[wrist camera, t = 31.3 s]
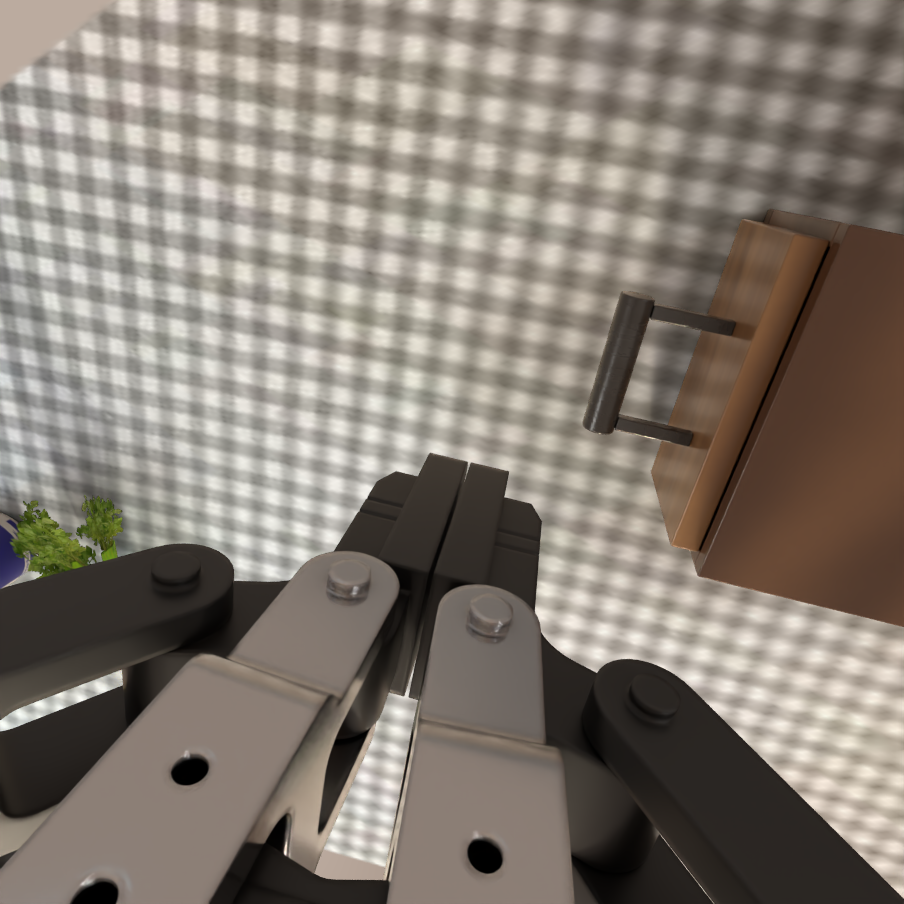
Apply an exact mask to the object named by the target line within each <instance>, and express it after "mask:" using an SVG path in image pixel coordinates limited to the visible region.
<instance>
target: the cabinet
mask: <svg viewBox="0 0 904 904" xmlns="http://www.w3.org/2000/svg"><path fill="white" fill-rule="evenodd" d="M763 223H767V224H771V225H774V226H778V227H782V228H785V229H789V230H793V231H797V232H800V233H804V234H808V235H811V236H815V237H819V238H822V239H826V240H828V241H829V244H828V247H827V249H826V251H825V253H826V254H827V256H826V259H825V261H824V263H823V266H822V268H821V270H820V273H819V275H818V277H817V280H816V282H815V284H814V287H813V289H812V291H811V294H810V296H809V299H808V301H807V303H806V306H805V308H804V310H803V313H802V315H801V317H800V320H799V322H798V324H797V327H796V329H795V331H794V334H793V336H792V338H791V341H790V343H789V345H788V348H787V350H786V352H785V355H784V357H783V359H782V362H781V364H780V366H779V369H778V371H777V374H776V376H775V378H774V381H773V383H772V385H771V388H770V390H769V392H768V395H767V397H766V399H765V402H764V404H763V406H762V409H761V411H760V413H759V416H758V418H757V420H756V423H755V425H754V427H753V430H752V432H751V434H750V437H749V439H748V442H747V444H746V446H745V449H744V451H743V453H742V456H741V458H740V460H739V463H738V465H737V467H736V470H735V472H734V474H733V477H732V479H731V481H730V484H729V486H728V488H727V491H726V493H725V495H724V498H723V500H722V502H721V505H720V507H718V506H717V508H716V511H715V513H714V515H713V518H712V520H711V522H710V525H709V527H708V529H707V532H706V534H705V536H704V539H703V541H702V544H701V546H700V548H699V551H698V552H695V551H691V550H690V552H691V555H692V558H693V561H694V564H695V569H696V572H697V575H698V576H699V577H703V578H707V579H711V580H715V581H719V582H723V583H727V584H731V585H735V586H740V587H744V588H748V589H752V590H756V591H760V592H764V593H768V594H772V595H776V596H780V597H784V598H788V599H792V600H796V601H800V602H804V603H809V604H813V605H817V606H821V607H825V608H829V609H833V610H837V611H841V612H845V613H849V614H853V615H857V616H861V617H865V618H869V619H874V620H878V621H882V622H886V623H890V624H894V625H898V626H902V627H904V235H902V234H897V233H892V232H887V231H882V230H877V229H872V228H867V227H862V226H857V225H852V224H847V223H841V222H836V221H831V220H826V219H821V218H815V217H810V216H805V215H800V214H795V213H789V212H784V211H779V210H774V209H769V210H768V212H767V214H766V217H765V220H764V222H763Z"/></svg>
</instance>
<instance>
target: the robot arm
mask: <svg viewBox="0 0 904 904" xmlns="http://www.w3.org/2000/svg"><path fill="white" fill-rule="evenodd" d="M467 466H468V462H466V461H462V460H458V459H454V458H450V457H445V456H441V455H437V454H433V453H430V454H429V455H428V457H427V459H426V461H425V463H424V465H423V467H422V469H421V471H420V473H419V475H418V477H417V476H413V475H409V474H405V473H401V472H397V471H396V472H394V473H392V474H390V475H388V476H386V477H384V478H383V479H381V480H379V481H377V482H376V484H375V486H374V487H373V489H372V490H371V492H370V494H369V495H368V498H367V499H366V500H365V502H364V503H363V505H362V507H361V508H360V512H358V513H357V515H356V516H355V518H354V520H353V521H352V523H351V524H350V526H349V528H348V529H347V531H346V533H345V534H344V536H343V537H342V539H341V541H340V542H339V544H338V545H337V547H336V549H335V550H334V552H329V553H325V554H321V555H318V556H316V557H314V558H312V559H310V560H309V561H307V562H306V563H305V564H304V565H303V566H302V567H301V568H300V569H299V570H298V572H297V573H296V574H295V575H294V576H293V578H292V579H291V580H289V581H280V582H255V581H234V569H233V565H232V564H231V562H230V560H229V559H228V558H227V557H226V556H225V555H223V554H222V553H220V552H219V551H217V550H214V549H212V548H209V547H206V546H202V545H196V544H170V545H164V546H159V547H155V548H151V549H147V550H143V551H140V552H136V553H132V554H128V555H125V556H121V557H117V558H113V559H110V560H106V561H102V562H98V563H95V564H91V565H87V566H83V567H80V568H76V569H72V570H68V571H65V572H61V573H57V574H53V575H49V576H46V577H42V578H38V579H34V580H31V581H27V582H23V583H19V584H16V585H12V586H8V587H4V588H1V589H0V720H1V719H2V718H4V717H5V716H6V715H8V714H9V713H11V712H13V711H15V710H16V709H19V708H21V707H23V706H26V705H29V704H31V703H34V702H36V701H39V700H42V699H44V698H47V697H50V696H52V695H55V694H58V693H60V692H63V691H66V690H68V689H71V688H74V687H76V686H79V685H82V684H84V683H87V682H90V681H92V680H95V679H98V678H100V677H103V676H105V675H108V674H111V673H113V672H116V671H119V670H121V669H122V676H123V686H120V687H117V688H115V689H112V690H110V691H107V692H105V693H102V694H100V695H97V696H95V697H92V698H89V699H87V700H84V701H82V702H79V703H77V704H74V705H72V706H69V707H67V708H64V709H61V710H59V711H56V712H54V713H51V714H49V715H46V716H44V717H41V718H39V719H36V720H33V721H31V722H28V723H26V724H23V725H21V726H18V727H16V728H13V729H10V730H6V731H0V904H713V903H712V901H713V902H714V904H904V899H903V898H902V897H901V896H900V895H899V894H898V893H897V892H896V891H895V890H894V889H893V888H892V887H891V886H890V885H889V884H888V883H887V882H886V881H885V880H884V879H883V878H882V877H881V876H880V875H879V874H878V873H877V872H876V871H875V870H874V869H873V868H872V867H871V866H870V865H869V864H868V863H867V862H866V861H865V860H864V859H863V858H862V857H861V856H860V855H859V854H858V853H857V852H856V851H855V850H854V849H853V848H852V847H851V846H850V845H849V844H848V843H847V842H846V841H845V840H844V839H843V838H842V837H841V836H840V835H839V834H838V833H837V832H836V831H835V830H834V829H833V828H832V827H831V826H830V825H829V824H828V823H827V822H826V821H825V820H824V819H823V818H822V817H821V816H820V815H819V814H818V813H817V812H816V811H815V810H814V809H813V808H812V807H811V806H810V805H809V804H808V803H807V802H806V801H805V800H804V799H803V798H802V797H801V796H800V795H799V794H798V793H797V792H796V791H795V790H793V789H792V788H791V787H790V786H789V785H788V784H787V783H786V782H785V781H784V780H783V779H782V778H781V777H780V776H779V775H778V774H777V773H776V772H775V771H774V770H773V769H772V768H771V767H770V766H769V765H768V764H767V763H766V762H765V761H764V760H763V759H762V758H761V757H760V756H759V755H758V754H757V753H756V752H755V751H754V750H753V749H752V748H751V747H750V746H749V745H748V744H747V743H746V742H745V741H744V740H743V739H742V738H741V737H740V736H739V735H738V734H737V733H736V732H735V731H734V730H733V729H732V728H731V727H730V726H729V725H728V724H727V723H726V722H725V721H724V720H723V719H722V718H721V717H720V716H719V715H718V714H717V713H716V712H715V711H714V710H713V709H712V708H711V707H710V706H709V705H708V704H707V703H706V702H705V701H704V700H703V699H702V698H701V697H700V696H699V695H698V694H697V693H696V692H695V691H694V690H693V689H692V688H691V687H689V686H688V685H687V684H686V683H685V682H684V681H683V680H681V679H680V678H678V677H677V676H676V675H674V674H673V673H671V672H669V671H667V670H666V669H664V668H661V667H659V666H657V665H654V664H651V663H648V662H645V661H640V660H633V659H620V660H615V661H612V662H610V663H607V664H606V665H604V666H603V667H602V668H601V669H600V670H599V671H598V672H597V673H596V672H594V671H592V670H590V669H588V668H586V667H584V666H582V665H580V664H578V663H576V662H575V661H573V660H571V659H569V658H568V657H566V656H564V655H563V654H562V653H560V652H559V651H558V650H556V649H555V648H554V647H553V646H552V645H551V644H550V643H549V642H548V641H547V640H546V639H545V637H544V636H543V634H542V633H541V628H540V622H539V620H538V617H537V615H536V614H535V600H536V588H537V575H538V562H539V550H540V537H541V524H542V521H541V519H540V518H539V516H538V514H537V513H536V511H535V509H534V507H533V506H532V504H529V503H525V502H521V501H517V500H513V499H509V498H505V497H504V495H505V490H506V485H507V480H508V475H509V471H505V470H500V469H496V468H492V467H488V466H484V465H479V464H475V463H471V464H470V467H469V470H468V473H467V476H466V472H467ZM465 477H466V479H465ZM464 481H465V482H464ZM416 657H417V658H416ZM415 660H416V663H415ZM414 663H415V668H414V673H413V678H412V683H411V688H410V693H409V698H413V699H416V700H418V703H417V708H416V713H415V717H414V723H413V727H412V731H411V736H410V741H409V745H408V750H407V755H406V761H405V766H404V771H403V777H402V782H401V787H400V793H399V798H398V803H397V809H396V814H395V819H394V825H393V830H392V835H391V840H390V846H389V851H388V856H387V862H386V867H385V872H384V878H383V880H333V879H326V878H322V877H320V876H318V875H316V874H314V872H315V870H316V866H317V864H318V861H319V858H320V856H321V853H322V851H323V849H324V846H325V844H326V842H327V839H328V837H329V835H330V833H331V831H332V828H333V826H334V824H335V822H336V819H337V817H338V815H339V813H340V810H341V808H342V806H343V804H344V801H345V799H346V797H347V795H348V792H349V790H350V788H351V786H352V783H353V781H354V779H355V777H356V774H357V772H358V770H359V768H360V765H361V763H362V761H363V759H364V756H365V754H366V752H367V750H368V748H369V745H370V743H371V741H372V738H373V735H374V731H375V726H376V722H377V720H378V719H379V717H380V715H381V713H382V711H383V708H384V705H385V702H386V699H387V696H388V693H389V692H390V693H393V694H397V695H401V696H404V695H405V692H406V689H407V686H408V682H409V679H410V676H411V673H412V670H413V667H414ZM660 834H661V835H662V837H663V838H664V839H665V840H666V842H667V843H668V844H669V846H670V847H671V848H672V849H673V851H674V852H675V853H676V855H677V856H678V857H679V859H680V860H681V861H682V862H683V864H684V865H685V866H686V868H687V869H688V870H689V871H690V873H691V874H692V875H693V877H694V878H695V879H696V880H697V882H698V883H699V884H700V886H701V887H702V888H703V889H704V891H705V892H706V893H707V895H708V896H709V897H710V898H711V900H712V901H711V900H710V899H709V897H708V896H707V895H706V894H705V892H704V891H703V890H702V888H701V887H700V886H699V884H698V883H697V882H696V881H695V879H694V878H693V877H692V875H691V874H690V873H689V872H688V870H687V869H686V868H685V866H684V865H683V864H682V863H681V861H680V860H679V859H678V857H677V856H676V855H675V853H674V852H673V851H672V850H671V848H670V847H669V846H668V844H667V843H666V842H665V841H664V839H663V838H662V837H661V835H660Z"/></svg>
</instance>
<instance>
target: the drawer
mask: <svg viewBox="0 0 904 904" xmlns="http://www.w3.org/2000/svg"><path fill="white" fill-rule="evenodd" d="M828 244H829V241H828V240H826V239H822V238H819V237H815V236H811V235H808V234H804V233H800V232H797V231H793V230H789V229H785V228H782V227H778V226H774V225H771V224H767V223H762V222H757V221H752V220H747V219H742V220H741V223H740V225H739V228H738V231H737V234H736V237H735V239H734V242H733V245H732V248H731V250H730V253H729V256H728V259H727V262H726V264H725V267H724V270H723V273H722V275H721V278H720V281H719V284H718V287H717V289H716V292H715V295H714V298H713V300H712V303H711V306H710V309H709V312H708V314H704V313H699V312H694V311H690V310H685V309H680V308H676V307H671V306H666V305H662V304H657V303H654V302H655V299H654V298H652V297H650V296H647V295H644V294H641V293H636V292H631V291H623V292H621V293H620V297H619V300H618V304H617V307H616V310H615V314H614V317H613V321H612V324H611V327H610V331H609V334H608V338H607V341H606V344H605V348H604V351H603V355H602V358H601V361H600V365H599V368H598V372H597V375H596V378H595V382H594V385H593V389H592V392H591V395H590V399H589V402H588V406H587V409H586V412H585V416H584V419H583V426H584V427H585V428H586V429H588V430H589V431H592V432H594V433H598V434H605V435H606V434H611V433H612V432H613V431H614V428H615V430H618V431H622V432H626V433H631V434H635V435H639V436H644V437H648V438H652V439H657V440H661V441H662V442H661V445H660V448H659V451H658V453H657V456H656V459H655V462H654V464H653V467H652V470H651V474H652V477H653V481H654V485H655V488H656V492H657V496H658V500H659V503H660V507H661V511H662V514H663V518H664V522H665V526H666V529H667V533H668V537H669V540H670V544H671V545H672V546H675V547H679V548H683V549H687V550H691V551H695V552H698V551H699V548H700V546H701V544H702V541H703V539H704V536H705V534H706V532H707V529H708V527H709V525H710V522H711V520H712V518H713V515H714V513H715V511H716V508H717V506H718V507H720V505H721V502H722V500H723V498H724V495H725V493H726V491H727V488H728V486H729V484H730V481H731V479H732V477H733V474H734V472H735V470H736V467H737V465H738V463H739V460H740V458H741V456H742V453H743V451H744V449H745V446H746V444H747V442H748V439H749V437H750V434H751V432H752V430H753V427H754V425H755V423H756V420H757V418H758V416H759V413H760V411H761V409H762V406H763V404H764V402H765V399H766V397H767V395H768V392H769V390H770V388H771V385H772V383H773V381H774V378H775V376H776V374H777V371H778V369H779V366H780V364H781V362H782V359H783V357H784V355H785V352H786V350H787V348H788V345H789V343H790V341H791V338H792V336H793V334H794V331H795V329H796V327H797V324H798V322H799V320H800V317H801V315H802V313H803V310H804V308H805V306H806V303H807V301H808V299H809V296H810V294H811V291H812V289H813V287H814V284H815V282H816V280H817V277H818V275H819V273H820V270H821V268H822V266H823V263H824V261H825V259H826V256H827V254H826V253H825V251H826V249H827V247H828ZM649 318H650V319H651V320H655V321H660V322H664V323H669V324H674V325H678V326H683V327H688V328H692V329H697V330H702V331H701V334H700V337H699V339H698V342H697V345H696V348H695V350H694V353H693V356H692V359H691V362H690V364H689V367H688V370H687V373H686V376H685V378H684V381H683V384H682V387H681V389H680V392H679V395H678V398H677V401H676V403H675V406H674V409H673V412H672V414H671V417H670V420H669V423H668V425H665V424H660V423H656V422H651V421H647V420H643V419H638V418H634V417H630V416H625V415H621V414H619V412H620V409H621V406H622V403H623V399H624V396H625V393H626V390H627V387H628V384H629V381H630V378H631V374H632V371H633V368H634V365H635V362H636V359H637V356H638V352H639V349H640V346H641V343H642V340H643V337H644V334H645V331H646V327H647V324H648V321H649Z"/></svg>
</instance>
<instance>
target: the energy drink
mask: <svg viewBox="0 0 904 904" xmlns="http://www.w3.org/2000/svg"><path fill="white" fill-rule="evenodd" d="M17 524H18V522H17V521H16V520H14V519H13V518H11V517H10V516H8V515H6V514H3V513H0V589H1V588H4V587H7V586H8V585H10V584H11V583H12V582H14V581H15V580H16V579H18V578H19V577H20V576H22V575H23V574H24V573H26V572H27V571H28V569H29V568H28V567H29V564H30V561H29V560H33V559H32V558H31V557H34V556H33V555H32V554H30V553H31V552H30V551H25V552H27V553H28V552H29V553H28V554H29V555H28V554H27V555H25V554H26V553H25V552H24V553H23V554H24V555H25V556H26V557H27V558H29V560H28V559H26V558H24V557H23V558H19V557H17V555H19V554H16V553H15V552H14V550H13V548H16V547H13V546H12V545H11V544H10V542H13V541H12V540H11V539H13V538H14V539H16V540H18V535H17V534H16V533H18V532H19V530H18V528H17V526H16V525H17ZM13 543H14V542H13ZM19 556H20V555H19ZM22 556H23V555H22Z"/></svg>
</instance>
